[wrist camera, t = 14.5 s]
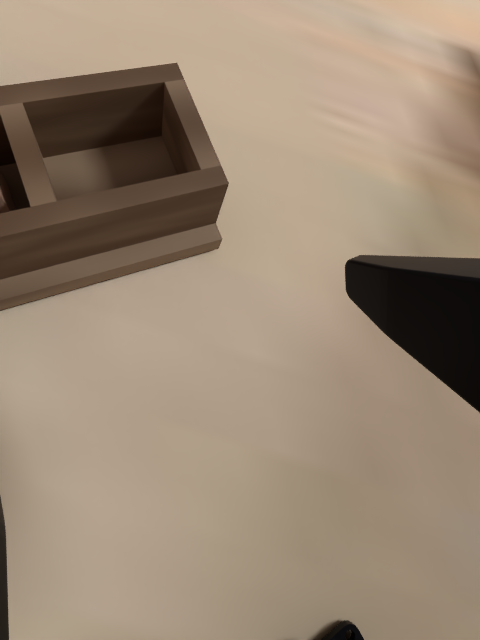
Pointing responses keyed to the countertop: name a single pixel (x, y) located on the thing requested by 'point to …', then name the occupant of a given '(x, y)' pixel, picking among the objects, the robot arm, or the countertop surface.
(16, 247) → the compartment tray
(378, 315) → the robot arm
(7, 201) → the clay block
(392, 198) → the countertop surface
